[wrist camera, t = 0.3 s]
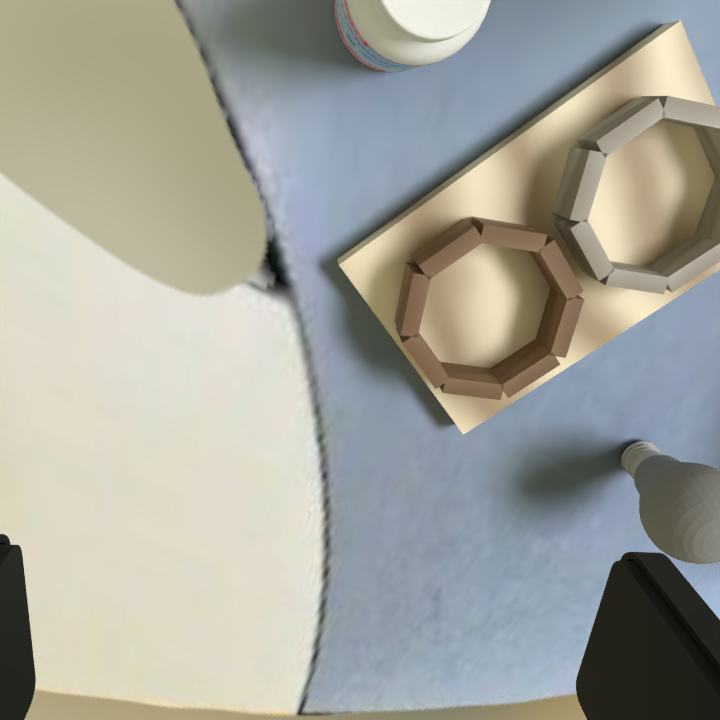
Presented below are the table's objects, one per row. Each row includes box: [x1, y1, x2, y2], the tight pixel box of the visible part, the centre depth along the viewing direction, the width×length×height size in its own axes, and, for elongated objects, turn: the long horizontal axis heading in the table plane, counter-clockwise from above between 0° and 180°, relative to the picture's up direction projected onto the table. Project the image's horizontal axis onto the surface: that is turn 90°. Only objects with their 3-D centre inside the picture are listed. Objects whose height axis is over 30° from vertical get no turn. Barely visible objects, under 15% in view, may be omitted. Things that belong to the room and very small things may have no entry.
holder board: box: [337, 20, 720, 434], centre depth 36 cm, size 22×14×4 cm, turn 125°
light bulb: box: [621, 441, 720, 564], centre depth 40 cm, size 6×6×10 cm
